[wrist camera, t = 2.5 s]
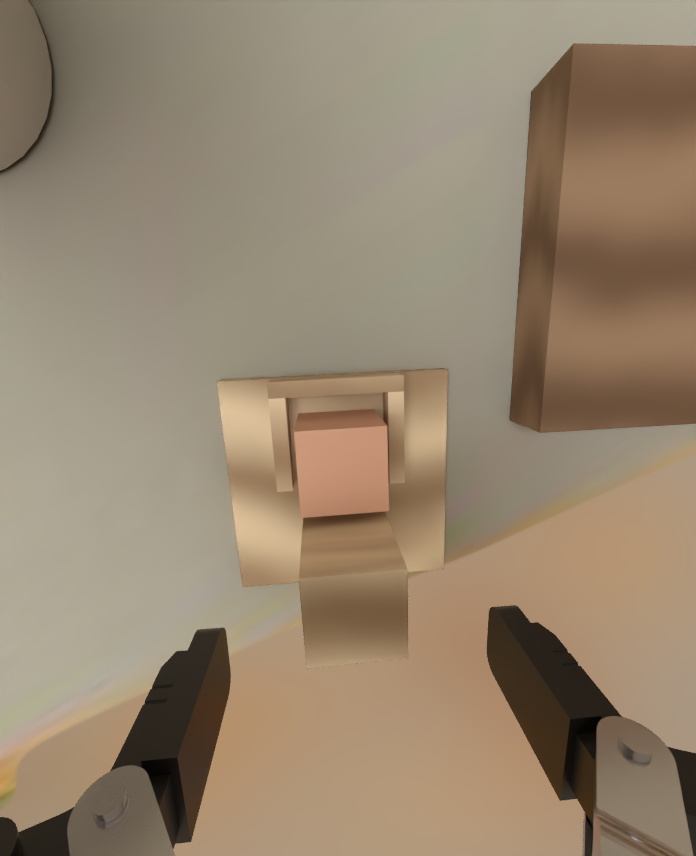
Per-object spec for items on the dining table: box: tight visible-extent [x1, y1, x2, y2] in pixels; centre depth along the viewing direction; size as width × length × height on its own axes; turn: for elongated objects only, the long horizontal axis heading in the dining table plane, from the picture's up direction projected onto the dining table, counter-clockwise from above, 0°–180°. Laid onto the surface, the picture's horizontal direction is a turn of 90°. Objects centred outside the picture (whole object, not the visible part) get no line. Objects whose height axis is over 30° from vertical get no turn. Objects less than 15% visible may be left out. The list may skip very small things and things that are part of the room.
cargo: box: [294, 409, 389, 518], centre depth 18 cm, size 4×4×4 cm
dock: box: [510, 44, 696, 433], centre depth 19 cm, size 16×16×3 cm
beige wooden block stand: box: [217, 368, 448, 669], centre depth 18 cm, size 12×12×9 cm
